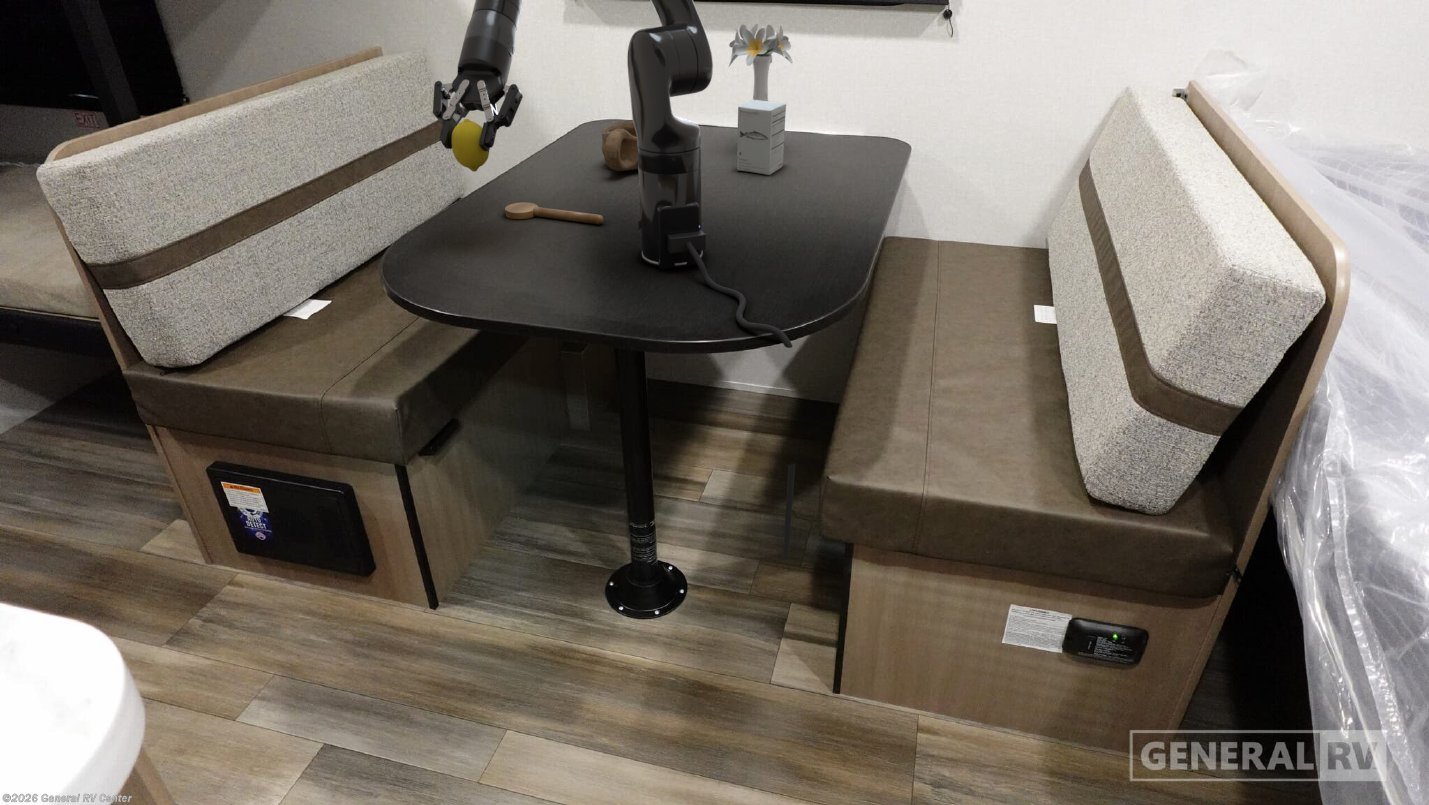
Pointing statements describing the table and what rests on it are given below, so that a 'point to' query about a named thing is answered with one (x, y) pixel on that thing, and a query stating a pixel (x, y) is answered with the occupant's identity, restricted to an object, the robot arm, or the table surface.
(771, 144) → the white packaging box
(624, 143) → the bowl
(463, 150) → the lemon
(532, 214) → the spoon
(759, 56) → the flower vase
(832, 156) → the table surface
